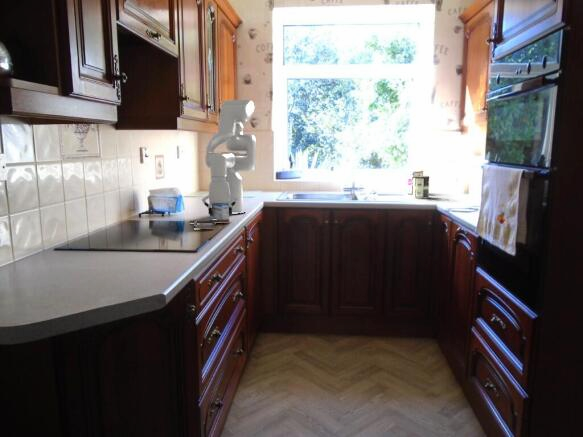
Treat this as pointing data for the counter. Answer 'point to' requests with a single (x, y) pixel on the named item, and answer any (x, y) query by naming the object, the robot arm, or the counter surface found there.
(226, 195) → the robot arm
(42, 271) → the counter surface
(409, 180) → the candy bar box
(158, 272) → the counter surface
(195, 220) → the door-edge strip
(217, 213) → the medicine box
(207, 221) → the grey shallow tray
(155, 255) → the counter surface
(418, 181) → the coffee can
